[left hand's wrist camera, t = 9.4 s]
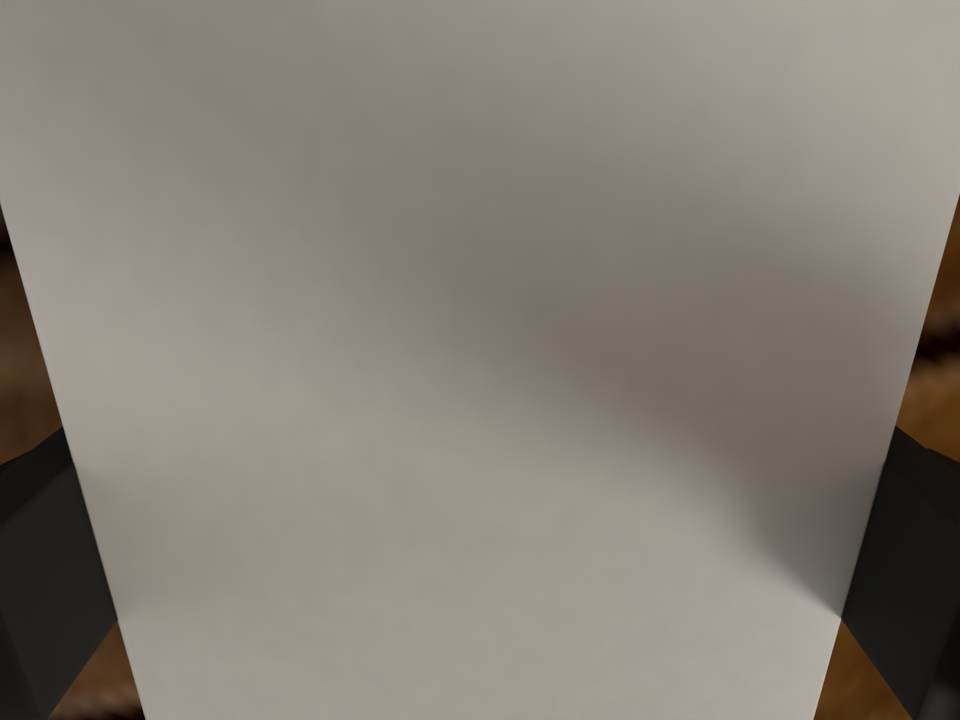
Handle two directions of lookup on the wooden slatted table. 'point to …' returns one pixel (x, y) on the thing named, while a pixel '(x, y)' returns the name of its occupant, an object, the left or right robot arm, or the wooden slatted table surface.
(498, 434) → the cabinet
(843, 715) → the wooden slatted table surface
